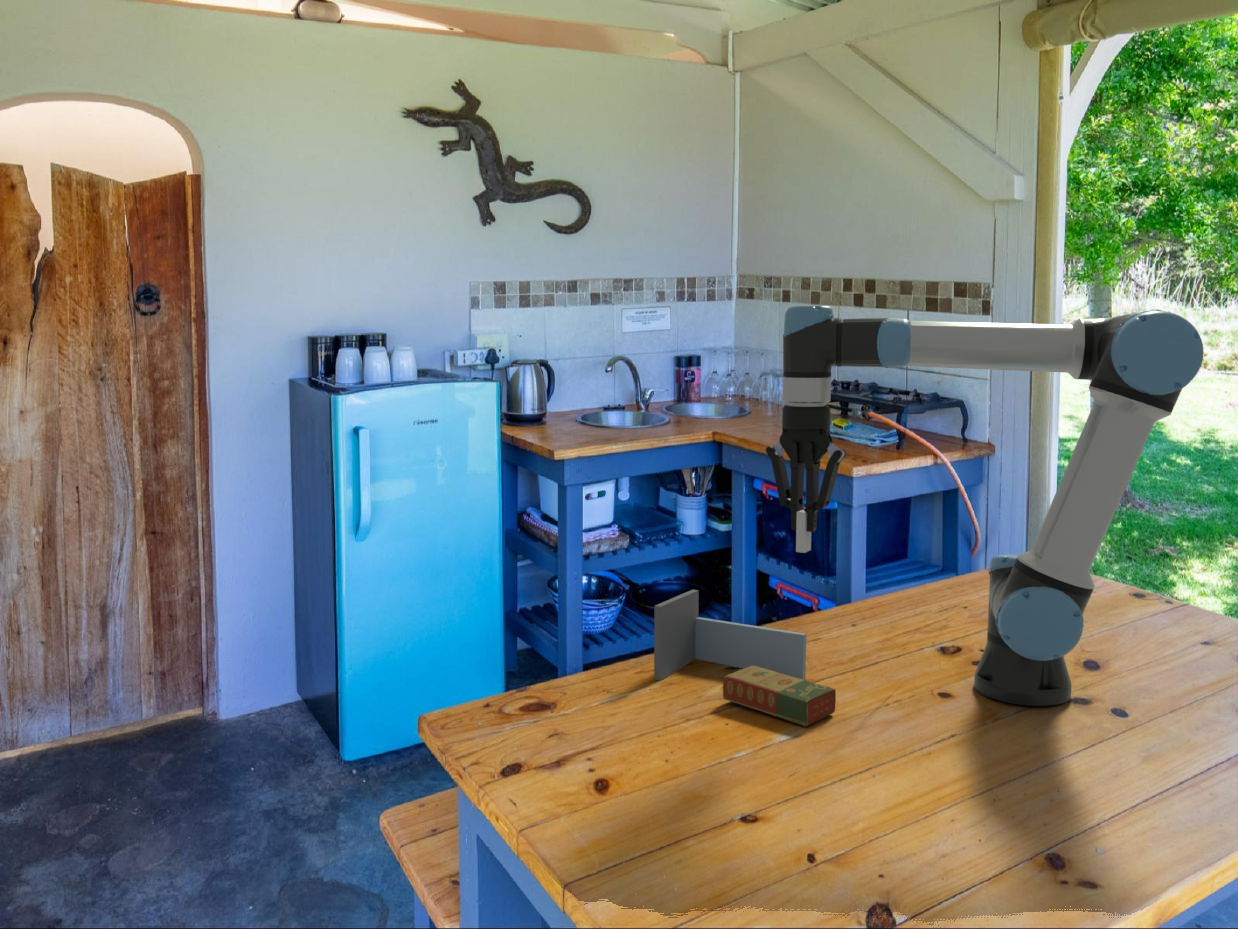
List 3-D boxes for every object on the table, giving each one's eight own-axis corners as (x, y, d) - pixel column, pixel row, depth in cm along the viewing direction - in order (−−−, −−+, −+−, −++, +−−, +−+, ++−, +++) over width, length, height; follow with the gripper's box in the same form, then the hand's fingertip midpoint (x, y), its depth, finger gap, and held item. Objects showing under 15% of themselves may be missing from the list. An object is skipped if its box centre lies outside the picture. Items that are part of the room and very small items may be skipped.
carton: (753, 688, 175) (753, 663, 175) (836, 713, 164) (837, 686, 164) (722, 700, 169) (722, 675, 169) (806, 727, 158) (807, 700, 158)
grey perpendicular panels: (805, 678, 182) (806, 605, 181) (772, 702, 170) (773, 623, 169) (692, 658, 194) (693, 589, 192) (654, 679, 182) (654, 605, 180)
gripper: (854, 404, 167) (850, 551, 169) (777, 401, 173) (775, 543, 176) (837, 406, 160) (833, 559, 163) (758, 404, 167) (756, 550, 170)
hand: (803, 550), depth 170 cm, fingers closed
